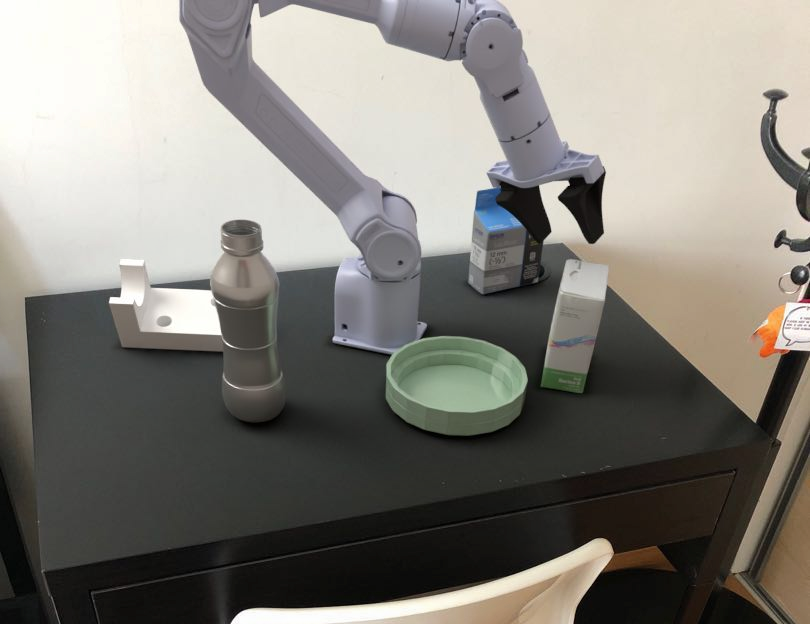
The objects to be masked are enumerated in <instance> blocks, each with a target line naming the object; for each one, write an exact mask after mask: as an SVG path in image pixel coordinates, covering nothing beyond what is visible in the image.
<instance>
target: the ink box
mask: <svg viewBox="0 0 810 624" xmlns="http://www.w3.org/2000/svg"><path fill="white" fill-rule="evenodd" d="M609 274H610V265H608V264H601V263H596V262H595V263H594V262H592V261H591V262H590V261H585V260H584V261H583V260H578V259H573V258H570V259H569V258H568V259H566V260H565V264H564V268H563V272H562V275H561V280H560V284H559V288H558V293H557V297H556V302H555V305H554V310H553V314H552V319H551V323H550V330H549V335H548V339H547V340H548V341H547V347H546V353H545V357H544V364H543V369H542V370H543V371H542V376H541V382H540V388H546V389H551V390H553V389H554V390H558V391H559V390H560V391H564V392H565V391H566V392H571V393H576V394H583V393H584V389H585V385H586V381H587V376H588V373H589V368H590V365H591V360H592V357H593V352H594V348H595V344H596V340H597V337H598V332H599V329H600V325H601V320H602V314H603V310H604V306H605V303H606V295H607V288H608V282H609V276H610V275H609Z"/></svg>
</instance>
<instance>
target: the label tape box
mask: <svg viewBox="0 0 810 624" xmlns="http://www.w3.org/2000/svg"><path fill="white" fill-rule="evenodd" d="M500 189H501V187H496V188H493V187H491V188H485V189H478V190H476V196H475V202H474V203H475V205H474V210H473V220H472V230H471V241H470V243H471V244H470V256H469V257H470V258H469V269H468V282H467V283H468V285H470V286H471V287H472V288H473V289H474V290H476V291H477V292H478V293H480V294H481V295H487V294H491V293H495V292H501V291H504V290H509V289H514V288H519V287H522V286H527V285H532V284H536V283H538V282H539V278H540V277H539V276H540V270H541V264H542V257H543V248H544V241H545V240H544V241H543V242H542V243H537V242H536V241H535V239H534V238H533V237H532V236H531V235H530V233H529V232H528V231H527V230H526V229H525V227H524V226H523V225H522V224H521V223H520V222H519V221H518V220H517V219H516V218H515V217H514V216H513V215H512V214H511V213H509V212H508V211H507V210H505V209H504V208H502V207H501V206H499V205H497V203H496V201H495V198H496V196H497V195H498V194H499V193H500V192H501V191H500Z"/></svg>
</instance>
